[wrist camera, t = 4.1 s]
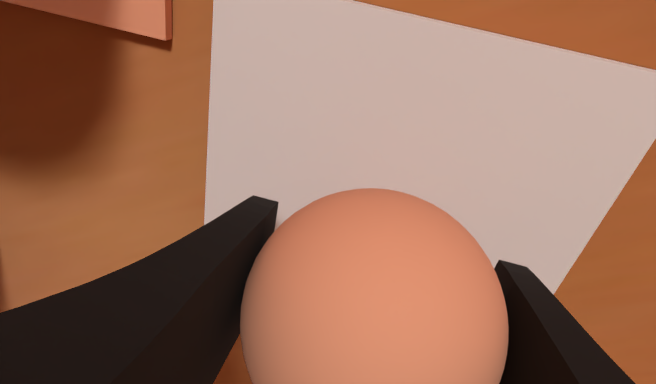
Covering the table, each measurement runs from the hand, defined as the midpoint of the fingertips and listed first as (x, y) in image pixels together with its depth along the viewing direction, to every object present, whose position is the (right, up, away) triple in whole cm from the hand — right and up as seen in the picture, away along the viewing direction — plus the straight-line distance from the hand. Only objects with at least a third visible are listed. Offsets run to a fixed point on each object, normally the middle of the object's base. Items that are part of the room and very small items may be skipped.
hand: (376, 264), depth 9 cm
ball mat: (0, +1, +2) cm, 2 cm away
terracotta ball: (0, -1, -1) cm, 2 cm away
